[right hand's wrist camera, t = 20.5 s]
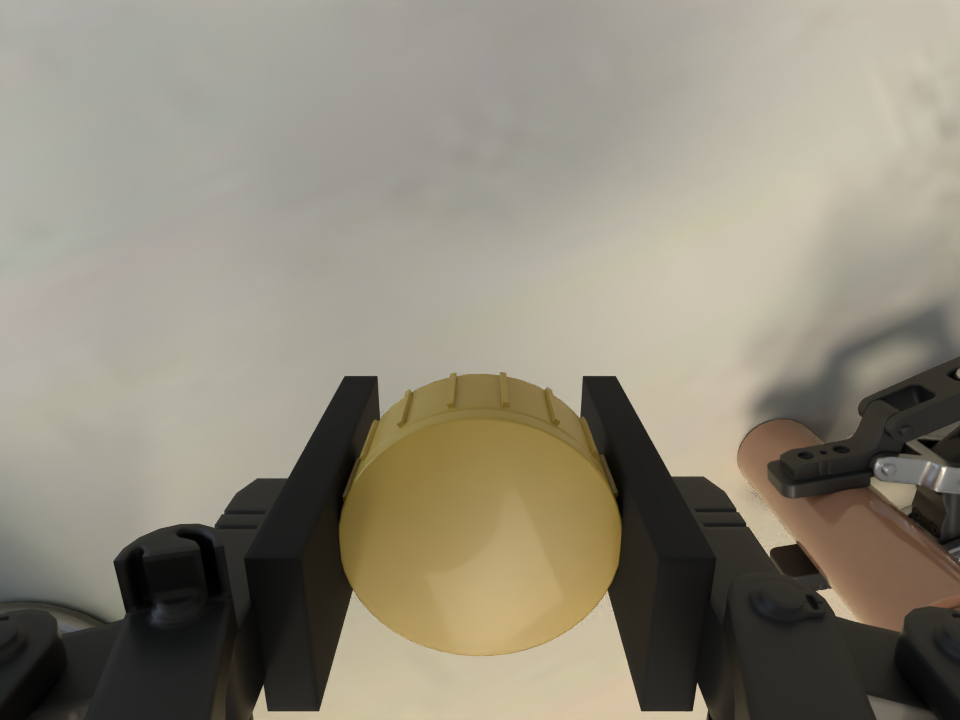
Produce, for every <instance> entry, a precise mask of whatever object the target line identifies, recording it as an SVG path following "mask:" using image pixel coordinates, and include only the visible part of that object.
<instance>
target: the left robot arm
mask: <svg viewBox="0 0 960 720" xmlns="http://www.w3.org/2000/svg"><path fill="white" fill-rule="evenodd" d="M858 412H859V415H860V416H861V417H862V420H861V422H860V425H859V427H858V429H857V431H856V432H855V433H853V434H851V435H849V436H848V437H847V438H846V440H843V441H838V442H832V443H826V444H820V445H814V446H809V447H804V448H797V449H791V450H789V451H787V452H785V453H783V454H781V455H780V460H775V461H771V462H769V463H768V464H767V478H768V480H769V481H770V483H771V484H772V485H773V486H774V487H775V488H776V490H777V491H778V492H779V493H780V494H781V495H782V496H784V497H786V498H791V499H796V498H802V497H808V496H814V495H820V494H826V493H832V492H838V491H844V490H849V489H857V488H863V487H869V486H870V477H874V476H875V477H876V478H877V479H878V480H880V481H885V482H895V483H906V484H916V487H917V491H916V494H915V497H914V500H913V503H912V505H910V506H907V507H905V508H902V509H900V510H901V511H902V512H903V513H905V514H906V515H907V516H908V517H909V518H910V519H911V520H913V521H914V522H915V523H916V524H917V525H918V526H919V527H921V528H922V529H923V530H924V531H925V532H926V533H927V534H928V535H930V536H931V537H932V538H933V539H934V540H935V541H936V542H938V543H939V544H940V545H941V546H942V547H943V548H944V549H946V550H947V551H948V552H949V553H950V554H951V555H952V556H954V557H955V558H956V559H957V560H958V561H959V562H960V426H959V427H957V428H956V429H955V430H953V431H952V432H951V433H949V434H948V435H947V436H935V435H926V434H928V433H931V432H933V431H935V430H938V429H940V428H943V427H945V426H947V425H950V424H952V423H954V422H957V421H959V420H960V357H957V358H955V359H953V360H951V361H948V362H946V363H944V364H941V365H939V366H937V367H935V368H932V369H930V370H928V371H925V372H923V373H921V374H918V375H916V376H914V377H912V378H909V379H907V380H905V381H902V382H900V383H898V384H896V385H893V386H891V387H889V388H886V389H884V390H882V391H879V392H877V393H875V394H873V395H870V396H868V397H866V398H865V399H863V400H862V401H861V403H860V404H859V407H858ZM770 559H771V561H772V562H773V564H774V565H775V567H776V568H777V569H778V571H779V572H780V574H781V575H784V576H788V577H791V578H793V579H795V580H797V581H799V582H801V583H803V584H805V585H808V586H810V587H811V588H812V589H813V590H815V591H818V590H824V589H827V588H829V589H831V588H832V587H831V586H830V585H829V584H828V582H827V581H826V580H825V579H824V577H823V576H822V575H821V574H820V572H819V571H818V570H817V568H816V567H815V566H814V565H813V563H812V562H811V561H810V560H809V558H808V557H807V556H806V555H805V553H804V552H803V551H802V550H801V548H800V547H799V546H798V544H794V545H787V546H781V547H776V548H773V549H771V551H770Z"/></svg>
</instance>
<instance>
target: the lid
mask: <svg viewBox="0 0 960 720" xmlns="http://www.w3.org/2000/svg"><path fill="white" fill-rule="evenodd" d="M616 498H618V491H617V488H616V486H615V483H614V480H613V478H612V475H611V472H610V470H609V467H608V465H607V462H606V459H605V457H604V454H603V455H599V452H598V449H597V447H596V445H595V442H594V440H593V437H592V434H591V432H590V429H589V426H588V424H587V421H586V419H585V418H584V417H581V418H579V417H578V416H577V415H576V414H575V412H574V411H572V410H571V409H570V408H569V407H568V406H567V405H566V404H565V403H564V402H562V401H561V400H560V399H558V398H557V397H555V396H554V395H553V392H552V390H551V389H549V388H548V387H547V388H546V390H543V389H541V388H540V387H538V386H536V385H533V384H530V383H528V382H525V381H522V380H519V379H515V378H510V377H506V373H503V372H500V375H490V374H469V375H462V376H457V375H456V373H452V374H450V378H446V379H442V380H439V381H435V382H433V383H430V384H428V385H426V386H423V387H421V388H419V389H417V390H415V391H414V392H412V391H411V390H408V391H406V392H405V395H404V398H402V399H401V400H400V401H399V402H397V403H396V404H395V405H393V406H392V407H391V408H390V409H389V410H388V411H387V412H386V413H385V414H384V415H383V416H382V418H381V419H380V420H379V421H377V420H374V421H373V423H372V425H371V428H370V430H369V433H368V436H367V439H366V441H365V444H364V447H363V449H362V452H361V455H360V457H359V458H357V459H356V462H355V465H354V467H353V470H352V473H351V475H350V478H349V481H348V483H347V486H346V489H345V491H344V494H343V502H344V504H343V506H342V509H341V514H340V520H339V541H340V552H341V561H342V565H343V569H344V572H345V574H346V576H347V579H348V581H349V583H350V585H351V587H352V589H353V590H354V592H355V593H356V595H357V596H358V598H359V600H360V601H361V602H362V603H363V604H364V606H365V607H366V608H367V609H368V610H369V611H370V612H371V613H372V614H373V615H374V616H375V617H376V618H377V619H378V620H379V621H380V622H381V623H383V624H384V625H386V626H387V627H388V628H390V629H391V630H393V631H394V632H396V633H397V634H399V635H401V636H403V637H405V638H406V639H408V640H410V641H413V642H415V643H417V644H420V645H422V646H425V647H428V648H431V649H435V650H438V651H441V652H447V653H452V654H458V655H469V656H494V655H502V654H510V653H514V652H518V651H523V650H527V649H530V648H533V647H536V646H538V645H541V644H544V643H546V642H548V641H550V640H552V639H554V638H556V637H558V636H560V635H562V634H563V633H565V632H566V631H568V630H570V629H571V628H573V627H574V626H575V625H576V624H578V623H579V622H580V621H581V620H583V619H584V618H585V617H586V616H587V615H588V614H589V613H590V612H591V611H592V610H593V609H594V608H595V607H596V605H597V604H598V603H599V601H600V600H601V599H602V598H603V596H604V595H605V593H606V592H607V590H608V588H609V586H610V584H611V583H612V581H613V578H614V576H615V573H616V570H617V568H618V565H619V556H620V546H621V535H622V520H621V515H620V511H619V507H618V503H617V501H616Z"/></svg>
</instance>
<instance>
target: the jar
mask: <svg viewBox="0 0 960 720" xmlns="http://www.w3.org/2000/svg"><path fill="white" fill-rule="evenodd" d="M820 444H825V443H824V442H823V441H821V440H820V439H819V438H818V437H817V436H816V435H815V434H813V433H812V432H811V431H810V430H809V429H808V428H807V427H805V426H804V425H803V424H801V423H799V422H796V421H793V420H786V419H778V420H772V421H769V422H766V423H763V424H762V425H760V426H758V427H756V428H755V429H754V430H752V431H751V432H750V433H749V434H748V435H747V436H746V438H745V439H744V440H743V442H742V444H741V446H740V449H739V452H738V466H739V469H740V471H741V473H742V475H743V476H744V477H745V479H746V480H747V481H748V483H749V484H750V485H751V486H752V488H753V489H754V490H755V491H756V493H757V494H758V495H759V496H760V498H761V499H762V500H763V501H764V503H765V504H766V505H767V507H768V508H769V509H770V510H771V512H772V513H773V514H774V515H775V517H776V518H777V519H778V520H779V522H780V523H781V524H782V525H783V527H784V528H785V529H786V531H787V532H788V533H789V534H790V536H791V537H792V538H793V539H794V541H795V542H796V543H797V544H798V546H799V547H800V548H801V550H802V551H803V552H804V553H805V555H806V556H807V557H808V558H809V560H810V561H811V562H812V563H813V565H814V566H815V567H816V568H817V570H818V571H819V572H820V574H821V575H822V576H823V577H824V579H825V580H826V581H827V582H828V584H829V585H830V586H831V587H832V589H833V590H834V591H835V592H836V594H837V595H838V596H839V598H840V599H841V600H842V601H843V603H844V604H845V605H846V606H847V608H848V609H849V610H850V611H851V613H852V614H853V615H854V617H855V618H856V619H857V620H858V622H859V623H862V624H867V625H871V626H876V627H880V628H885V629H889V630H894V631H898V632H900V631H901V627H902V624H903V621H904V617H905V616H906V615H907V614H908V613H909V612H911V611H912V610H913V609H915V608H921V607H927V606H934V607H942V608H950V609H954V610H957V611H960V562H959V561H958V560H957V559H956V558H955V557H954V556H952V555H951V554H950V553H949V552H948V551H947V550H946V549H944V548H943V547H942V546H941V545H940V544H939V543H938V542H936V541H935V540H934V539H933V538H932V537H931V536H930V535H928V534H927V533H926V532H925V531H924V530H923V529H922V528H921V527H919V526H918V525H917V524H916V523H915V522H914V521H913V520H911V519H910V518H909V517H908V516H907V515H906V514H905V513H903V512H902V511H901V510H900V509H899V508H898V507H897V506H895V505H894V504H893V503H892V502H891V501H890V500H889V499H887V498H886V497H885V496H884V495H883V494H882V493H881V492H880V491H878V490H877V489H876V488H875V487H874V486H873V485H872V484H870V486H869V487H863V488H857V489H849V490H844V491H838V492H832V493H826V494H820V495H814V496H808V497H802V498H796V499H791V498H786V497H784V496H782V495H781V494H780V493H779V492H778V491H777V490H776V488H775V487H774V486H773V485H772V484H771V483H770V481H769V480H768V478H767V464H768V463H769V462H771V461H775V460H780V455H781V454H783V453H785V452H787V451H789V450H791V449H797V448H804V447H809V446H814V445H820Z"/></svg>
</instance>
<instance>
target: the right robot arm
mask: <svg viewBox="0 0 960 720" xmlns="http://www.w3.org/2000/svg"><path fill="white" fill-rule="evenodd" d="M581 417H584V418H585V419H586V421H587V424H588V426H589V429H590V432H591V434H592V437H593V440H594V442H595V445H596V447H597V449H598V452H599V455H603V454H604V457H605V459H606V462H607V465H608V467H609V470H610V472H611V475H612V478H613V480H614V483H615V486H616V488H617V491H618V498H616V501H617V503H618V507H619V511H620V515H621V520H622V535H621V546H620V556H619V565H618V568H617V570H616V573H615V576H614V578H613V581H612V583H611V584H610V586H609V588H608V593H609V597H610V600H611V604H612V607H613V611H614V615H615V618H616V622H617V625H618V629H619V633H620V636H621V640H622V643H623V647H624V651H625V654H626V658H627V661H628V665H629V669H630V672H631V676H632V679H633V683H634V687H635V690H636V694H637V697H638V701H639V705H640V708H641V711H693V705H694V699H695V693H696V686H697V683H698V685H699V688H700V690H701V693H702V695H703V698H704V700H705V703H706V705H707V708H708V714H707V720H960V611H957V610H954V609H950V608H942V607H934V606H927V607H921V608H915V609H913V610H912V611H911V612H909V613H908V614H907V615H906V616H905V617H904V621H903V624H902V627H901V631H900V632H898V631H894V630H889V629H885V628H880V627H876V626H871V625H867V624H862V623H858V622H854V621H850V620H847V619H843V618H840V617H837V616H835V613H834V612H833V610H832V609H831V607H830V606H829V604H828V603H827V601H826V600H825V598H823V597H822V596H821V595H820V594H818V593H817V592H816V591H815V590H813V589H812V588H811V587H810V586H808V585H805V584H803V583H801V582H799V581H797V580H795V579H793V578H791V577H788V576H784V575H781V574H780V572H779V571H778V569H777V568H776V567H775V565H774V564H773V562H772V561H771V559H770V558H769V556H768V555H767V553H766V552H765V550H764V549H763V547H762V546H761V544H760V543H759V542H758V540H757V539H756V537H755V536H754V534H753V533H752V531H751V530H750V528H749V527H746V522H745V521H744V519H743V518H742V517H741V515H740V514H739V512H736V508H735V506H734V505H733V503H732V502H731V500H730V499H729V497H728V496H727V494H726V493H725V492H724V491H723V490H722V489H720V488H719V487H717V486H716V485H715V484H713V483H712V482H710V481H709V480H708V479H706V478H705V477H671V475H670V473H669V471H668V470H667V468H666V466H665V464H664V462H663V461H662V459H661V457H660V455H659V453H658V452H657V450H656V448H655V446H654V444H653V443H652V441H651V439H650V437H649V435H648V434H647V432H646V430H645V428H644V426H643V425H642V423H641V421H640V419H639V417H638V416H637V414H636V412H635V410H634V408H633V407H632V405H631V403H630V401H629V399H628V398H627V396H626V394H625V392H624V390H623V389H622V387H621V385H620V383H619V381H618V380H617V378H616V376H583V385H582V401H581ZM581 417H580V418H581ZM374 420H377V421H379V420H380V411H379V395H378V378H377V376H345V377H344V378H343V380H342V382H341V384H340V386H339V387H338V389H337V391H336V393H335V395H334V396H333V398H332V400H331V402H330V404H329V405H328V407H327V409H326V411H325V413H324V414H323V416H322V418H321V420H320V422H319V424H318V425H317V427H316V429H315V431H314V433H313V434H312V436H311V438H310V440H309V442H308V443H307V445H306V447H305V449H304V451H303V452H302V454H301V456H300V458H299V460H298V461H297V463H296V465H295V467H294V469H293V470H292V472H291V474H290V476H289V478H288V479H256V480H254V481H253V482H252V483H250V484H249V485H247V486H246V487H245V488H243V489H242V490H240V491H239V492H238V493H236V495H235V496H234V497H233V499H232V500H231V502H230V503H229V505H228V506H227V508H226V509H225V511H224V514H222V515H221V517H220V518H219V520H218V521H217V523H216V524H215V528H213V527H209V526H205V525H202V524H179V525H174V526H170V527H165V528H161V529H158V530H156V531H153V532H151V533H149V534H146V535H144V536H142V537H139V538H138V539H136V540H135V541H134V542H132V543H131V544H129V545H128V546H126V547H125V548H124V549H123V550H122V551H121V552H120V554H119V555H118V556H117V557H116V559H115V560H114V561H113V562H114V566H115V570H116V574H117V578H118V582H119V586H120V590H121V595H122V599H123V603H124V607H125V611H126V615H125V617H124V619H123V620H119V621H116V622H112V623H109V624H104V623H102V622H100V621H98V620H96V619H94V618H92V617H90V616H87V615H85V614H82V613H80V612H77V611H74V610H71V609H67V608H64V607H59V606H55V605H50V604H44V603H35V602H4V603H0V720H253V714H252V712H253V709H254V707H255V704H256V702H257V699H258V697H259V694H260V692H261V689H262V687H263V684H264V690H265V696H266V703H267V709H268V711H319V710H320V706H321V702H322V699H323V695H324V692H325V688H326V684H327V681H328V677H329V674H330V670H331V666H332V663H333V659H334V656H335V652H336V648H337V645H338V641H339V638H340V634H341V630H342V627H343V623H344V620H345V616H346V612H347V609H348V605H349V602H350V598H351V594H352V591H353V589H352V587H351V585H350V583H349V581H348V579H347V576H346V574H345V572H344V569H343V565H342V561H341V552H340V541H339V520H340V514H341V509H342V506H343V504H344V502H343V494H344V491H345V489H346V486H347V483H348V481H349V478H350V475H351V473H352V470H353V467H354V465H355V462H356V459H357V458H359V457H360V455H361V452H362V449H363V447H364V444H365V441H366V439H367V436H368V433H369V430H370V428H371V425H372V423H373V421H374Z"/></svg>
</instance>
